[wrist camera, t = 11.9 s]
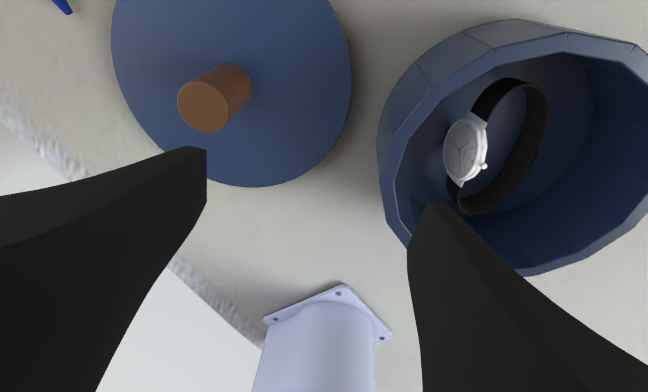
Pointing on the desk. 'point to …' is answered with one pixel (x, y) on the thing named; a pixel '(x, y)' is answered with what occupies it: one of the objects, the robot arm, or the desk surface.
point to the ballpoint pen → (63, 6)
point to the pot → (502, 132)
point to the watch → (471, 145)
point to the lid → (236, 81)
